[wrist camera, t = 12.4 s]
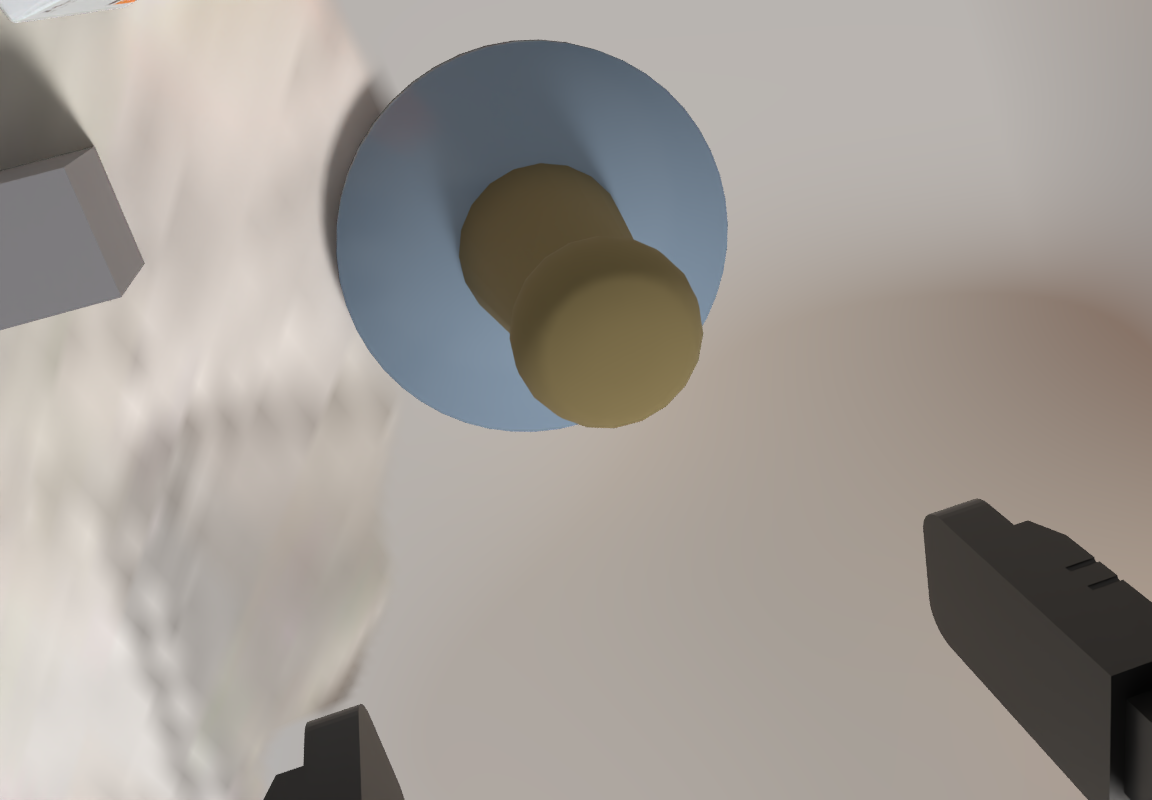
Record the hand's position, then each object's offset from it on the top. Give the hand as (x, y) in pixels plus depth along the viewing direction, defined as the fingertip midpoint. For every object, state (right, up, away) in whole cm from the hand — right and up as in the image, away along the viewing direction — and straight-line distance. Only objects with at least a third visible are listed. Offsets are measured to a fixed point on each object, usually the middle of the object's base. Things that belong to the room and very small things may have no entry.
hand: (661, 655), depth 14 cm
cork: (-2, +9, +22) cm, 24 cm away
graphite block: (-18, +9, +19) cm, 28 cm away
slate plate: (-3, +9, +23) cm, 24 cm away
